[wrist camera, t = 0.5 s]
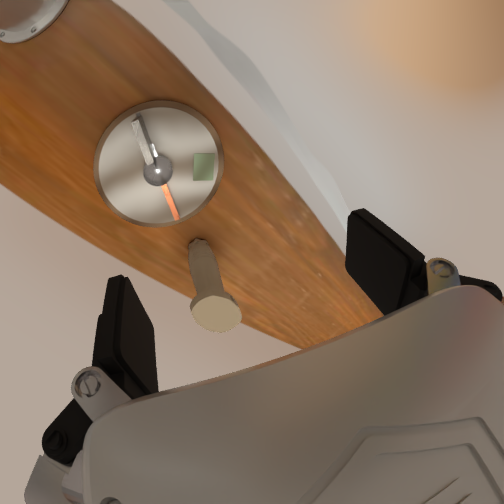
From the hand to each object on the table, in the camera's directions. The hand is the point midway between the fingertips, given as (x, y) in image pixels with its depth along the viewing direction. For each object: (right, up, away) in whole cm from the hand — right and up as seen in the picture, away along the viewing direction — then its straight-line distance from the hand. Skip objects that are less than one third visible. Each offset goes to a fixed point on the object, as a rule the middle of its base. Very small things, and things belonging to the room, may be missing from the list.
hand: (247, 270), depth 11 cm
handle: (-8, +2, +33) cm, 34 cm away
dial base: (-12, +12, +24) cm, 29 cm away
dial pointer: (-11, +11, +22) cm, 27 cm away
